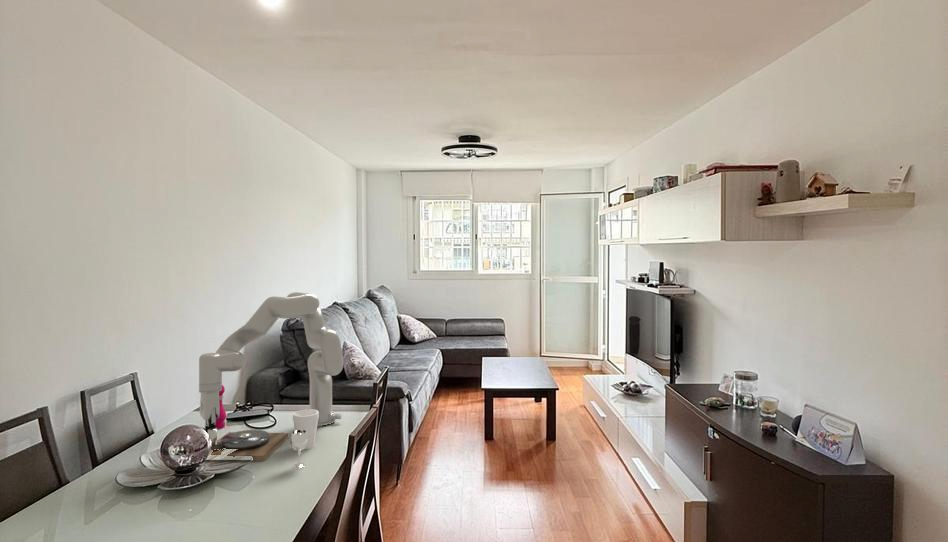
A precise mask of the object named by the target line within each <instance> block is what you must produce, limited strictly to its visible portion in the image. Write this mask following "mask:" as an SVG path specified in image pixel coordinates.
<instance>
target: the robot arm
mask: <svg viewBox="0 0 948 542" xmlns="http://www.w3.org/2000/svg"><path fill="white" fill-rule="evenodd" d="M298 317H300V318H301V320H302V323H303V326H304V327H303V328H304V332H305V337H306V343H307V345H308V347H309V348H311V349H313V350H315V351H313V352H312V353H311V354H310V355H309V356H308V358H307V369H308V374H309V375H308V376H309V409H313V410H317V411H318V412H319V418H318V423H317V427H322V426H321V425H326V424H330V423H332V422H334V421H335V420H342V417H343V416H342V414H341V413H335V411H334V410H333V378H332V376H337V375H339V374H340V373H341V372H342V371H343V368H344V355H343V350H342V343H341V339H340V336H339V334H338V332H336V331H335V330H333V329H330V328H326V323H325V320H324V316H323V312H322V310H321V308H320V300H319V297H317V295H315V294H312V293H307V292H297V291H295V292H291V293H289V294H287V296H269V297H267V298H265V300H264V301H263V303H262V304H260V306H259V307H258V309H257V310H256V311H255V312H254V314H253V315H252V316H251V317H250V318H249V320H248V321H246V323H245V324H244V325H241V327H240V328H238V329H237V330H235V331H234V332H233V333H231V334H230V335H229V336H228V337H227V338H226V339H225V340H224V341H223V342H222V344H221V345H220V346H219V348H218V349H217V350H216V352H206V353H202V354H200V356H199V358H198V392H199V393H200V403H199V415H200V417H201V418H202V419H203V420H204V422H205V426H204V429H205V431H206V432H207V433H208V429H210V428H216V418H217V419H218V418H219V413H220V405H219V391H221V390H222V385H223V372H237V371H240V370H242V369H243V368H244V367H245V365H246V364H247V358H246V356H245V354H244V353H243V352H240V351H241V350H242V349H243V348H244V347H246V346H247V345H248V344H250V343H252V342H255V341H258V340H260V339H262V338H264V337H265V336H266V335H267V334H268V333H269V332H270V330H271V328H272V327H273V326H274V325H275V323H276V322H277V321H278V320H279V319H292V318H298ZM335 422H336V421H335ZM335 422H334V423H335ZM330 425H331V424H330ZM205 431H204V432H205Z"/></svg>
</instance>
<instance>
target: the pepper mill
mask: <svg viewBox="0 0 948 542" xmlns="http://www.w3.org/2000/svg"><path fill="white" fill-rule="evenodd" d="M225 391H226V389H225V386H224V385H223V384H222V390H221V391H219V405H220V413H219V418H218V419H217V418H216V428H217V430H220V429H223V428H225V427H226V422H225V420H226V419H227V412H226V409H225V408H224V405H223V399H224V396H225V395H224V393H225Z"/></svg>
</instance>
